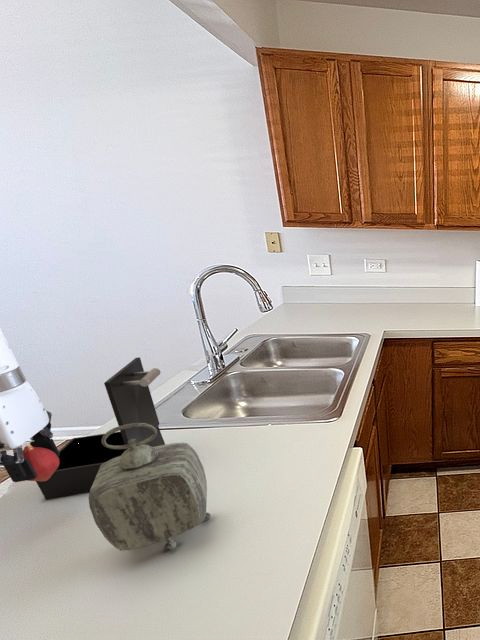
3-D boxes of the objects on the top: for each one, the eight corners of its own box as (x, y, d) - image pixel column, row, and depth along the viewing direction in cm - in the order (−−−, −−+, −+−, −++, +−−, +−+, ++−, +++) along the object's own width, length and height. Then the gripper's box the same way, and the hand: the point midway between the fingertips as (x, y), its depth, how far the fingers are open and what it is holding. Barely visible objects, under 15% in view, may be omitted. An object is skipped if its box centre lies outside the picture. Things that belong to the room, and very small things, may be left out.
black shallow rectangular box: (45, 500, 83) (32, 475, 81) (83, 460, 95) (73, 438, 93) (142, 483, 88) (132, 459, 85) (166, 447, 100) (158, 425, 98)
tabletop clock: (218, 510, 80) (181, 402, 70) (218, 541, 73) (177, 426, 63) (126, 541, 73) (72, 425, 63) (117, 578, 66) (54, 455, 56)
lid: (103, 382, 79) (137, 380, 80) (135, 357, 91) (164, 355, 93) (129, 457, 85) (160, 453, 87) (155, 424, 97) (182, 421, 99)
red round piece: (14, 488, 73) (-6, 452, 70) (52, 468, 79) (34, 434, 76) (37, 493, 72) (17, 456, 69) (73, 473, 77) (56, 438, 74)
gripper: (1, 366, 74) (43, 446, 81) (-86, 410, 59) (-26, 504, 66) (52, 361, 76) (88, 440, 83) (-20, 402, 61) (32, 494, 68)
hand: (37, 467), depth 74 cm, fingers closed on red round piece, 5 cm apart
